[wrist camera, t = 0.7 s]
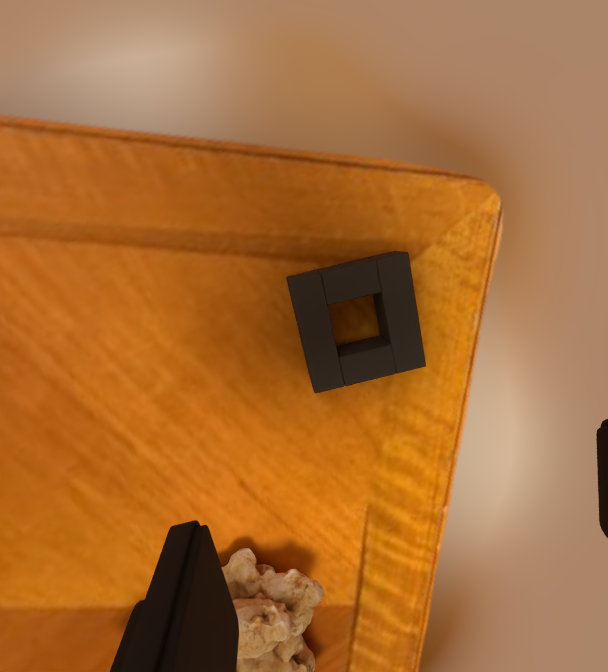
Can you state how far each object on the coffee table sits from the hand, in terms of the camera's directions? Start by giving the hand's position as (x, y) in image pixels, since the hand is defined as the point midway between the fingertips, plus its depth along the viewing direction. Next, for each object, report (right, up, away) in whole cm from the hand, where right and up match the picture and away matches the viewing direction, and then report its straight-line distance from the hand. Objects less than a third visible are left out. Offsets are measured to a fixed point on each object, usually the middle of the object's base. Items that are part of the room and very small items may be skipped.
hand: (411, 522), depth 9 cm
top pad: (+1, +6, +16) cm, 17 cm away
